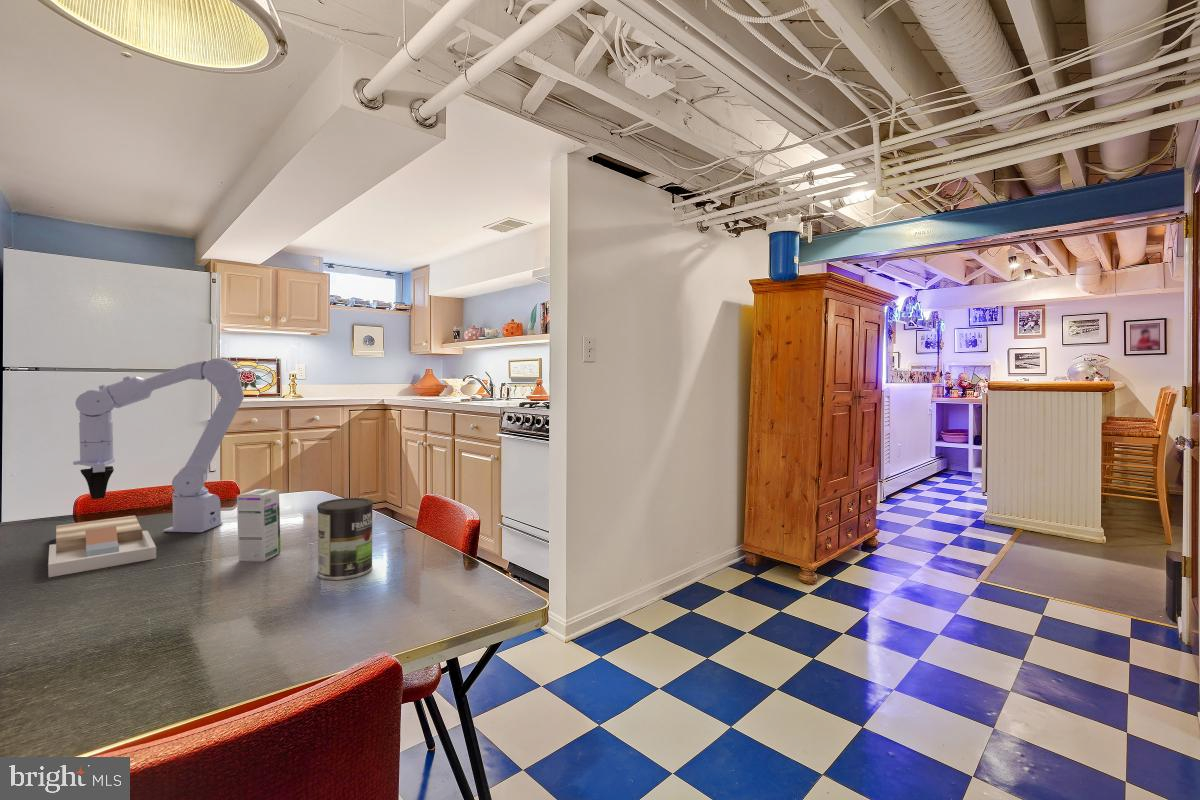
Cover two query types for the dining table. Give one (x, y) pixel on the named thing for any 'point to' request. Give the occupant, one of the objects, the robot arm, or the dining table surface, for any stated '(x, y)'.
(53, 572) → the tray
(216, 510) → the robot arm
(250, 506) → the syrup box
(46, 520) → the dining table surface
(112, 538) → the terracotta tile
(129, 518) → the birch board
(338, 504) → the coffee can
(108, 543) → the slate tile
